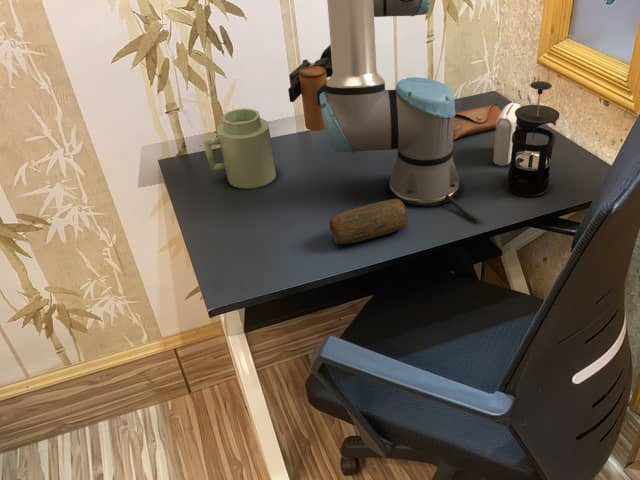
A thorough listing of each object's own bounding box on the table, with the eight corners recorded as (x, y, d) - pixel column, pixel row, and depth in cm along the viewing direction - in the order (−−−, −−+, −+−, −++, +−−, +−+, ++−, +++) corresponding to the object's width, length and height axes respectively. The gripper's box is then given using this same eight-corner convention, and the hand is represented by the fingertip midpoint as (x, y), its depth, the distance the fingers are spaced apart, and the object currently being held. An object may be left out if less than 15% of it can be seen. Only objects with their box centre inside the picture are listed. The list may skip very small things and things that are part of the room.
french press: (558, 194, 134) (576, 89, 119) (520, 202, 132) (533, 96, 117) (531, 169, 143) (545, 69, 128) (495, 177, 140) (504, 75, 125)
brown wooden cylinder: (394, 217, 128) (393, 188, 124) (410, 234, 123) (410, 205, 119) (326, 236, 123) (323, 207, 118) (340, 255, 118) (338, 225, 114)
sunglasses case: (454, 139, 154) (448, 112, 152) (441, 143, 160) (435, 117, 159) (514, 124, 160) (508, 98, 158) (499, 129, 166) (494, 104, 165)
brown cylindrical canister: (333, 128, 135) (328, 74, 127) (307, 132, 134) (301, 77, 126) (328, 118, 139) (323, 64, 131) (303, 121, 138) (296, 67, 130)
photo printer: (502, 146, 152) (507, 96, 144) (519, 149, 151) (525, 99, 143) (490, 164, 145) (494, 114, 137) (508, 167, 143) (513, 116, 135)
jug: (279, 184, 139) (269, 123, 129) (213, 194, 136) (199, 131, 127) (273, 162, 147) (263, 102, 138) (211, 170, 144) (197, 110, 135)
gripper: (380, 77, 145) (349, 118, 128) (305, 70, 148) (265, 110, 131) (378, 44, 140) (347, 82, 123) (301, 38, 143) (260, 75, 126)
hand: (305, 97), depth 127 cm, fingers closed on brown cylindrical canister, 6 cm apart
